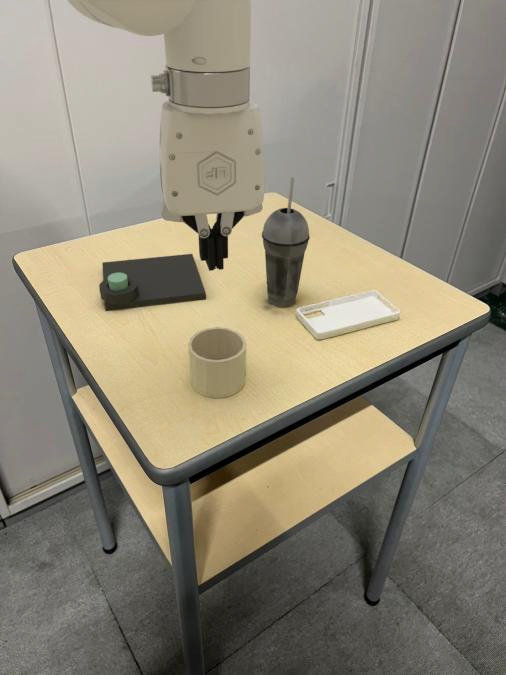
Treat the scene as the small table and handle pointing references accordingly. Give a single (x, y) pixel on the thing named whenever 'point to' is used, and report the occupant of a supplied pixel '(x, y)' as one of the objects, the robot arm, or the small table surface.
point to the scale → (153, 282)
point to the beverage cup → (284, 253)
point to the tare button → (117, 281)
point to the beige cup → (217, 362)
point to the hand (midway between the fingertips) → (213, 264)
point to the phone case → (347, 314)
